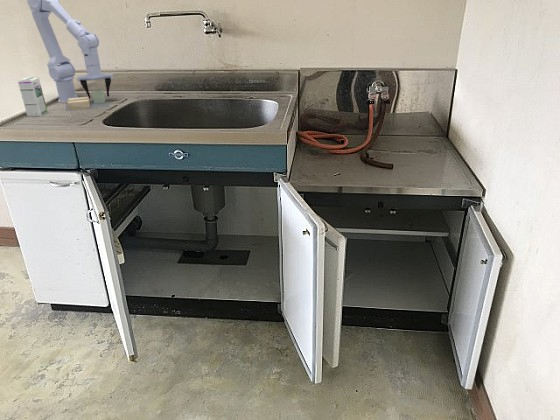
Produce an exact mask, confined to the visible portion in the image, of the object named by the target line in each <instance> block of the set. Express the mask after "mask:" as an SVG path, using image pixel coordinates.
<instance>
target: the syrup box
mask: <svg viewBox="0 0 560 420" xmlns="http://www.w3.org/2000/svg"><path fill="white" fill-rule="evenodd" d="M17 83H18V88H19V91H20V94H21V98H22V102H23V105H24V109H25V113H26V115H27V117H35V116H36V117H39V116H43V115H45V114H47V113H48V108H47V104H46V100H45V96H44V93H43V88H42V85H41V81H40V77H38V76H29V77H24V78H21V79H20V80H18V81H17Z"/></svg>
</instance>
